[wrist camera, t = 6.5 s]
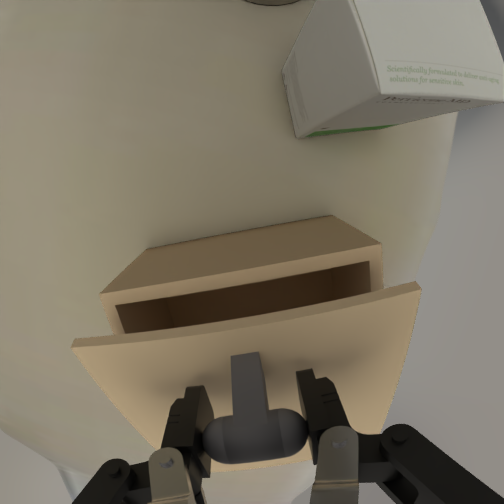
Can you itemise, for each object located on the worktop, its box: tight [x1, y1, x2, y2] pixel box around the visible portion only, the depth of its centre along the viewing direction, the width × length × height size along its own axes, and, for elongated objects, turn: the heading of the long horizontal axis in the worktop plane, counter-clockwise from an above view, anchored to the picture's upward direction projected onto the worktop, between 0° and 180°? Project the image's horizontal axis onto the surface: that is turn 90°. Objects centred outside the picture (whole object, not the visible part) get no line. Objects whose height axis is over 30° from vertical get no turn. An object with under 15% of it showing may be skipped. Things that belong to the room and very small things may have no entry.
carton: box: [99, 215, 383, 335], centre depth 23 cm, size 16×16×10 cm
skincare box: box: [282, 0, 504, 139], centre depth 15 cm, size 8×7×16 cm
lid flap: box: [71, 281, 422, 472], centre depth 14 cm, size 16×16×5 cm
